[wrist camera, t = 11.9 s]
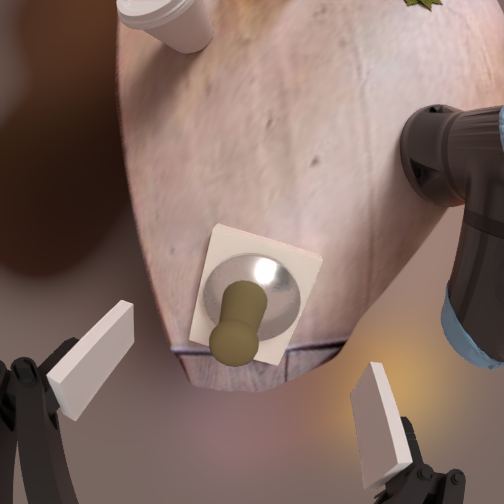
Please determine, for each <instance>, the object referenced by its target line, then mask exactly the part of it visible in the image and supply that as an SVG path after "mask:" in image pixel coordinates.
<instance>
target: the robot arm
mask: <svg viewBox="0 0 504 504" xmlns="http://www.w3.org/2000/svg"><path fill="white" fill-rule="evenodd" d="M400 153H401V161H402V165H403V169H404V172H405V174H406V176H407V179H408V180H409V182H410V184H411V185H412V187H413V188H414V189H415V191H416V192H417V193H418V194H419V195H420V196H421V197H423V198H424V199H426V200H427V201H429V202H431V203H434V204H437V205H440V206H444V207H455V206H459V205H464V204H465V209H464V215H463V221H462V227H461V232H460V237H459V243H458V248H457V252H456V257H455V261H454V266H453V270H452V274H451V277H450V280H449V281H448V283H447V287H446V296H445V300H444V304H443V307H442V312H441V324H442V327H443V330H444V334H445V336H446V338H447V340H448V341H449V343H450V345H451V346H452V347H453V348H454V350H455V351H456V352H457V353H458V354H459V355H460V356H461V357H463V358H464V359H465V360H466V361H468V362H469V363H471V364H473V365H475V366H477V367H479V368H482V369H485V368H487V367H488V368H489V369H490V370H497V369H500V368H502V367H503V366H504V105H502V106H495V107H488V108H482V109H476V110H470V111H462V110H459V109H456V108H453V107H450V106H447V105H440V104H437V105H431V106H427V107H424V108H421V109H419V110H417V111H416V112H415V113H413V114H412V115H411V117H410V118H409V119H408V121H407V122H406V124H405V126H404V129H403V132H402V136H401V144H400ZM133 343H134V323H133V304H132V303H129V302H126V301H123V300H121V301H120V302H119V303H118V304H117V305H116V306H114V308H112V309H111V310H110V311H109V312H108V313H107V314H106V315H105V316H104V317H103V318H102V319H101V320H100V321H99V322H98V323H97V324H96V325H95V326H94V327H93V328H92V329H91V330H90V331H89V332H88V333H87V334H86V335H85V336H84V337H83V338H82V339H81V340H78V339H76V338H74V337H73V338H70V339H68V340H66V341H64V342H63V343H62V344H61V345H60V346H59V347H58V349H56V350H55V351H54V353H53V354H51V355H50V356H49V357H48V358H47V359H46V360H45V361H44V362H43V363H42V364H41V365H40V366H39V367H38V368H37V366H36V363H35V362H34V361H33V360H32V359H30V358H28V357H21V358H18V359H16V360H14V362H13V363H12V364H11V367H10V368H11V371H10V370H7V368H6V366H5V364H4V363H3V362H2V361H1V360H0V504H13V476H14V464H15V455H16V446H17V440H18V449H19V457H20V464H21V471H22V477H23V482H24V487H25V492H26V496H27V500H28V504H79V503H78V501H77V498H76V494H75V492H74V488H73V485H72V482H71V478H70V474H69V471H68V467H67V463H66V459H65V454H64V450H63V445H62V439H61V434H60V428H59V422H58V415H57V412H56V411H57V410H58V408H59V407H60V408H61V410H62V412H63V414H64V415H66V416H68V417H69V418H71V419H73V420H74V421H76V420H77V419H78V417H79V416H80V415H81V413H82V412H83V410H84V409H85V408H86V406H87V405H88V403H89V402H90V400H91V399H92V398H93V397H94V395H95V394H96V392H97V391H98V390H99V388H100V387H101V386H102V384H103V383H104V381H105V380H106V379H107V377H108V376H109V375H110V373H111V372H112V371H113V369H114V368H115V367H116V365H117V364H118V363H119V361H120V360H121V359H122V357H123V356H124V355H125V353H126V352H127V351H128V350H129V348H130V347H131V346H132V344H133ZM350 398H351V403H352V408H353V414H354V419H355V426H356V433H357V439H358V445H359V452H360V460H361V467H362V476H363V485H364V490H369V489H378V488H380V487H381V486H383V485H384V484H385V486H386V489H385V490H384V491H382V492H380V493H379V494H377V495H376V496H375V497H374V498H377V497H378V499H377V500H376V502H375V503H374V504H463V499H464V491H465V482H466V480H465V475H464V473H463V472H462V471H461V470H459V469H453V470H450V471H449V472H448V473H447V474H442V473H436V472H434V471H433V469H432V468H431V467H430V466H429V465H427V464H424V463H423V460H422V457H421V453H420V450H419V446H418V443H417V440H416V436H415V434H414V430H413V427H412V424H411V423H410V421H409V420H408V419H407V417H400V415H399V412H398V409H397V406H396V403H395V400H394V397H393V394H392V391H391V388H390V385H389V382H388V379H387V376H386V373H385V371H384V368H383V365H382V363H378V362H370V363H369V364H368V366H367V368H366V369H365V371H364V373H363V374H362V376H361V378H360V379H359V381H358V383H357V384H356V386H355V388H354V389H353V390H352V392H351V394H350Z"/></svg>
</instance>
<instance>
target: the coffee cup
mask: <svg viewBox="0 0 504 504" xmlns="http://www.w3.org/2000/svg"><path fill="white" fill-rule="evenodd" d="M117 10H118V15H119V18H120V20H121V21H122V23H123V24H124V25H125V26H127V27H129V28H132V29H137V30H143V31H145V32H146V33H148V34H150V35H152V36H153V37H155V38H157V39H158V40H160V41H162V42H163V43H165V44H167V45H168V46H170V47H171V48H173V49H174V50H176V51H178V52H180V53H184V54H190V53H195V52H198V51H200V50H202V49H203V48H205V47H206V46H207V45H208V44H209V43H210V41H211V40H212V37H213V27H212V24H211V21H210V19H209V16H208V13H207V10H206V8H205V5H204V2H203V0H117Z"/></svg>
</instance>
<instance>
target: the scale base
mask: <svg viewBox="0 0 504 504" xmlns="http://www.w3.org/2000/svg"><path fill="white" fill-rule="evenodd" d="M241 253H260V254H264V255H267V256H270V257H273V258H275V259H277V260H278V261H280V262H281V263H283V264H284V265H285V266H286V267H287V268H288V269H289V270H290V271H291V272H292V274H293V275H294V277H295V278H296V281H297V283H298V286H299V290H300V298H301V304H300V310H299V313H298V316H297V318H296V320H295V321H294V323H293V324H292V325H291V326H290V327H289V328H288V329H287V330H286V331H285V332H284V333H282V334H280V335H279V336H277V337H274V338H272V339H269V340H264V341H259V347H258V352H257V354H256V355H255V357H254V360H258V361H262V362H265V363H269V364H273V365H278V364H279V362H280V360H281V358H282V356H283V354H284V352H285V350H286V347H287V345H288V343H289V341H290V339H291V336H292V334H293V332H294V330H295V327H296V325H297V323H298V321H299V318H300V316H301V314H302V311H303V309H304V307H305V304H306V302H307V300H308V297H309V295H310V292H311V290H312V287H313V285H314V283H315V280H316V278H317V275H318V273H319V270H320V267H321V265H322V262H323V261H322V258H321V256H320V254H318V253H315V252H311V251H308V250H305V249H302V248H298V247H295V246H292V245H288V244H285V243H282V242H279V241H275V240H272V239H269V238H265V237H262V236H259V235H255V234H252V233H249V232H245V231H242V230H238V229H235V228H232V227H228V226H225V225H221V224H217V225H216V226H215V227H214V228H213V231H212V235H211V239H210V243H209V248H208V252H207V256H206V261H205V265H204V269H203V274H202V278H201V283H200V287H199V292H198V297H197V301H196V306H195V311H194V316H193V321H192V326H191V331H190V336H189V340H191V341H194V342H197V343H200V344H203V345H206V346H209V337H210V335H211V332H212V330H213V329H214V328H215V327H216V325H215V324H214V323H213V322H212V320H211V319H210V317H209V316H208V314H207V312H206V309H205V306H204V301H203V292H204V287H205V283H206V281H207V279H208V277H209V275H210V274H211V272H212V271H213V269H214V268H215V267H216V266H217V265H218V264H219V263H221V262H222V261H223V260H225V259H227V258H229V257H231V256H233V255H237V254H241Z"/></svg>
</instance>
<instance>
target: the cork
mask: <svg viewBox="0 0 504 504" xmlns="http://www.w3.org/2000/svg"><path fill="white" fill-rule="evenodd" d="M267 302H268V299H267V296H266V293H265V292H264V290H263V289H262V288H261V287H260V286H259V285H258V284H256V283H254V282H251V281H245V280H241V281H235V282H233V283H232V284H230V285H229V286H228V287H227V288H226V289H225V291H224V293H223V296H222V303H221V311H220V318H219V324H218V325H217V326H216V327H215V328H214V329H213V330H212V332H211V335H210V337H209V348H210V351H211V353H212V355H213V356H214V357H215V358H216V360H218V361H219V362H221V363H222V364H225V365H227V366H233V367H236V366H242V365H245V364H247V363H249V362H250V361H251V360H253V359H254V357H255V355H256V354H257V352H258V347H259V339H258V336H257V331H258V329H259V326H260V323H261V321H262V318H263V316H264V313H265V310H266V308H267Z"/></svg>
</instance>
